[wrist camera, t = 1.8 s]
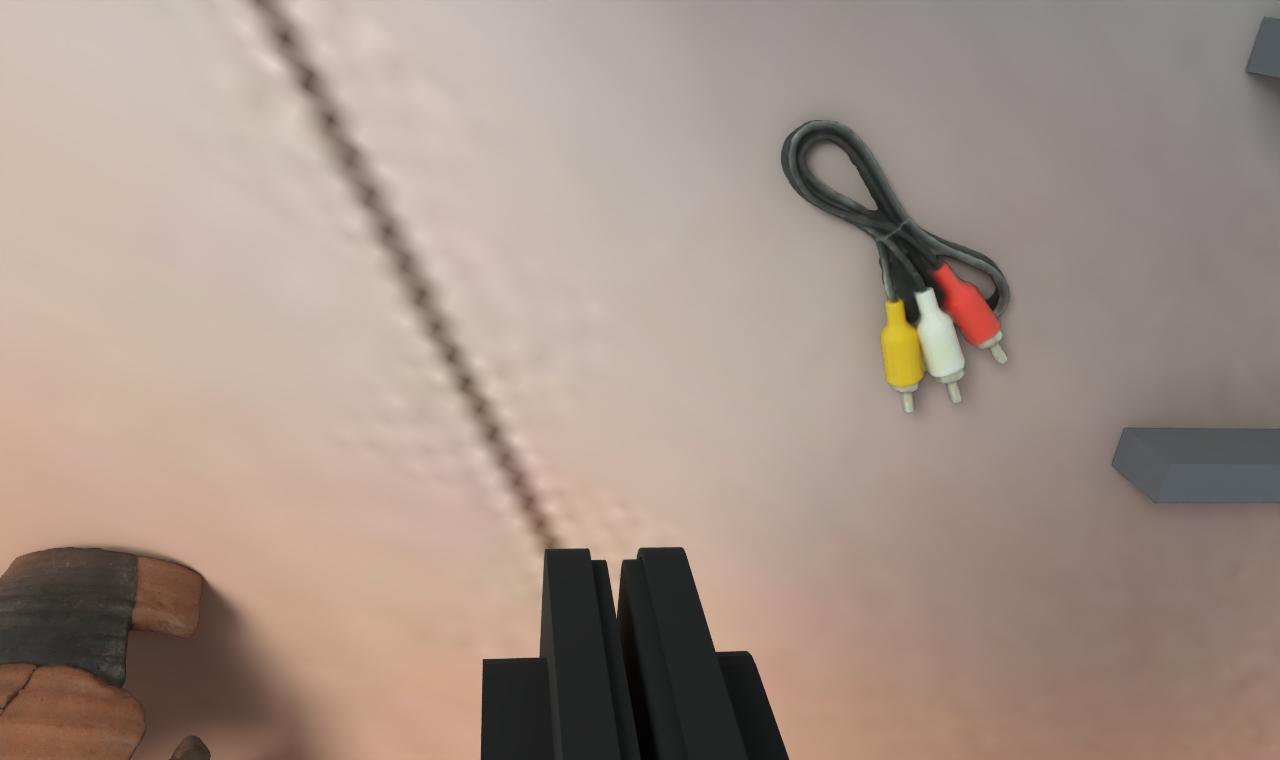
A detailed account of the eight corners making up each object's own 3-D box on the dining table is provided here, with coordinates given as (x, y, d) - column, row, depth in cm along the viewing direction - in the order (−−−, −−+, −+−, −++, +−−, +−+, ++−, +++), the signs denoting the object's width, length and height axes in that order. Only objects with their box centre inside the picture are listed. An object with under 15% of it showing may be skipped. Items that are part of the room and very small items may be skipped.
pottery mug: (303, 578, 32) (257, 850, 27) (197, 652, 37) (144, 887, 33) (-130, 476, 25) (-291, 816, 20) (-179, 586, 30) (-312, 870, 26)
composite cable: (758, 144, 27) (782, 163, 25) (906, 54, 26) (943, 66, 24) (888, 397, 31) (917, 433, 29) (1017, 325, 31) (1057, 355, 29)
